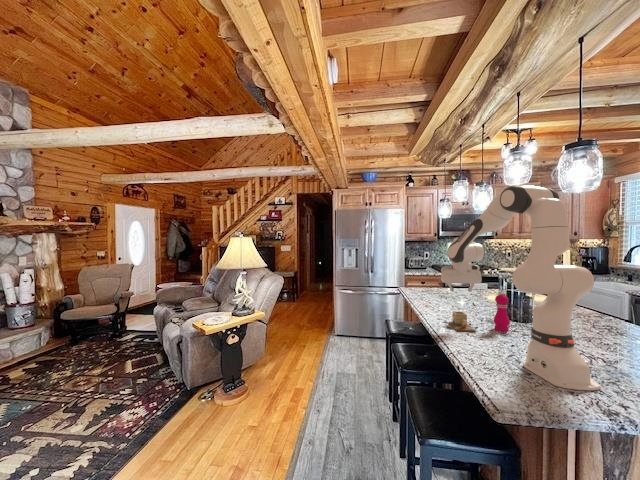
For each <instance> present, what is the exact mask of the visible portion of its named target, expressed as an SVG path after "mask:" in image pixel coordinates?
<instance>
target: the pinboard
mask: <svg viewBox="0 0 640 480" xmlns="http://www.w3.org/2000/svg"><path fill="white" fill-rule="evenodd" d="M448 324H449V325H450V326H451V328H453V329H454V330H455V331H456V332H458V333H459V332H460V333H477V330H476V329H475V328H474V327H472V325H470V324H469V323H467V326H466V320H462V325H455V324H454V323H453V321H448Z"/></svg>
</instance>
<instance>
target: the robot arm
mask: <svg viewBox="0 0 640 480" xmlns="http://www.w3.org/2000/svg"><path fill="white" fill-rule="evenodd" d="M516 214H527V215H529V216H530V221H531V222H530V223H531V246H530V249H529V250H530V251H529V254H528V256H527V257H526V259H525V261H523V262H522V264H520V265H519V266H517V267H516V269H515V270H514V271H513V273H512V283H513V285H514V287H515V288H516V289H517V290H518V291H520V292H523V293H526V294H531V295H546V297H545V299H543V301H542V302H539V303H538V304H536V305H535V306H534V307H533V310H532V327H531V329H530V337H531V340H530V342H529V343H528V345H527V348H526V349H527V351H526V358H525V361H524V362H522V367H524V368H525V369H527V370H528V371H530V372H532V373H533V374H535V375H537V376H538V377H539V378H542V379H543V380H545V381H546V382H547V383H549V384H551V385H552V386H556V387H558V388H563V389H569V390H575V391H576V390H577V391H598V390H601V385H600V384H599V383H598V382H596V381H595V380H594V379H593V378H592V377H591V371H590V365H589V361H587V360H584V358H583V357H582V356H581V354H580V353H579V352H578V350H577V349H576V347H575V344H576V340H575V339H574V337H573V335H572V331H571V327H572V314H573V312H574V309H575V307H576V304H577V303H578V301H579V300H580V299H581V298H582V297H583V296H584V295H586V294H587V293H589V292H590V291H592V289H593V287H594V285H595V278H594V276H593V274H592V272H591V271H590V270H589V269H588V268H586V267H584V266H579V265H573V264H572V265H571V264H555V263H556V260H557V258H558V257H559V256H560V255H562V254H564V253H566V252H567V251H568V250H569V249H570V246H571V245H570V225H569V223H570V222H569V216H568V211H567V207H566V204H565V202H564V201H562V200H561V199H560V194H559V193H558V192H557V191H556V190H554V189H552V188H550V187H546V186H544V187H543V186H542V187H541V186H535V185H518V184H517V185H512V186H507V187H506V188H505V189H502V190H501V191H499V193H498V194H497V195H496V196H495V197H494V198H493V199H492V200H491V202H490V203H489V204H488V206H487V207H486V208H485V210H484V211H483V212H482V213H481V214H480V215H479V216H478V217H477V218H475V219H474V220H473V221H471V222H470V223H469V225H468V226H467V227H466V228H465V229H464V231H463V232H462V233H461V234H460V235H459V236H456V237H454V238H453V240H452V242H451V244H450V245H449V246H448V248H447V251H446V252H447V257H448V258H449V260H450V261H451V265H444V266H442V267H441V269H440V273H441V275H440V276H441V277H440V281H441V282H442V283H444V284H447V286H448V287H449V291H450V292H454V289H455V288H454V287H452V284H469V285H470V286H469V287H468V288H467V292H471V293H472V292H473V288H474V286H475V284H481V283H482V280H483V278H482V273H481V271H480V266H479V265H477V264H474V263H472V262H480V261H482V260H483V259H484V257H485V256H486V249H485V247H484V246H483V245H482V244H481V243H478V242H475V239H476V238H478V237H479V236H481V235H483V234H487V233H491V232H496V231H500V230H502V229H504V228H505V227H506V226H507V225H508V224H510V222H511V221H512V220H513V218H514V216H515V215H516Z"/></svg>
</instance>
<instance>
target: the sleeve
mask: <svg viewBox="0 0 640 480" xmlns="http://www.w3.org/2000/svg"><path fill="white" fill-rule="evenodd" d="M462 320H466V326H467V324H468V322H467V321H468V315H467V313H465V312H464V311H457V310H456V311H452V322H453V323H454V324H455V325H462Z"/></svg>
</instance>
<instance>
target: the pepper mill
mask: <svg viewBox="0 0 640 480" xmlns="http://www.w3.org/2000/svg"><path fill="white" fill-rule="evenodd" d="M494 301H495V306H496V313H495V315H494V317H493V323H494V324H495V325H494V329H495V330H496V331H497V332H504V333H506V332H509V331H510V330H509V326H510V323H511V322H510V318H509V316H508V312H507V309H508V303H509V298H508V296H507V295H505V293H504V292H503V291H501V292H499V294H497V295H496V296H495V297H494Z"/></svg>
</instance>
